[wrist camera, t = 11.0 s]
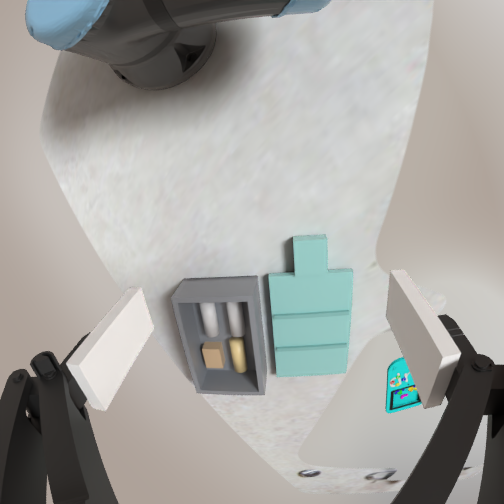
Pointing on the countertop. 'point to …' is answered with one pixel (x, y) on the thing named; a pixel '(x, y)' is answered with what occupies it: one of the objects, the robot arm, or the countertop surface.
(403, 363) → the handheld gaming console
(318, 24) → the countertop surface
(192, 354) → the tub
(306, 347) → the lid
